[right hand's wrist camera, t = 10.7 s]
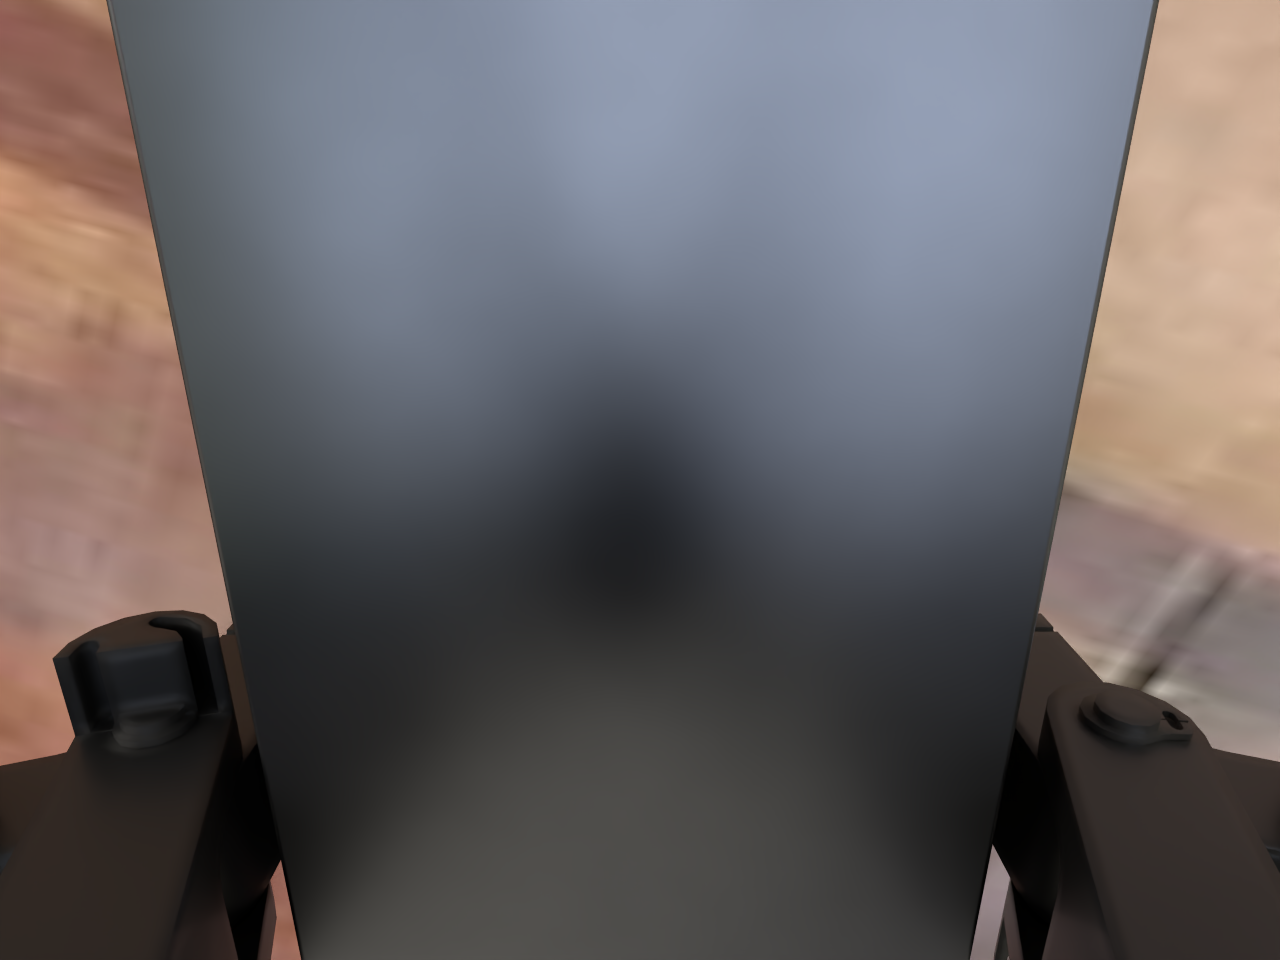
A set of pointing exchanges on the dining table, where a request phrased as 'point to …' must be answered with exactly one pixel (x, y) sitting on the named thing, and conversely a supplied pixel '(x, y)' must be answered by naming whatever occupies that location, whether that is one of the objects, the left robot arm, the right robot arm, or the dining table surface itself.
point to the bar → (634, 444)
